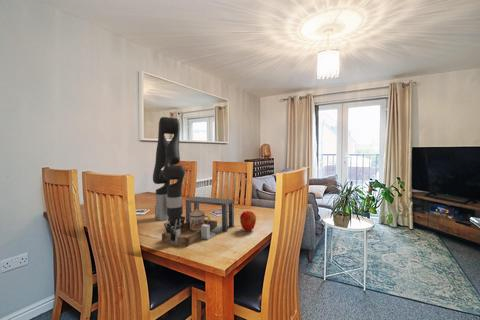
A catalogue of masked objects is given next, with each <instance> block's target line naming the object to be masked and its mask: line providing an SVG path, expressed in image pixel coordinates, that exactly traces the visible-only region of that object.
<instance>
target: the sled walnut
mask: <svg viewBox="0 0 480 320" xmlns="http://www.w3.org/2000/svg"><path fill="white" fill-rule="evenodd" d="M208 220H209V219H205V218H204V222H205V223H207V222H208ZM207 225H210V232H211V230H212V229H214V228H215V227H217V226H218V221H217V220H212V219H210V221H209V223H208V224H207ZM187 230H190V221H188V222H186V221H185V222H184V225H183V228H181V230H180V229H175V241H171V238H170V233H167V231H165V232H163V233H161V242H162V243H168V244H170V245H173V246H184V247H189V246H191V245H193V244H194V243H195V242H197V241H199V240H201V239H200V237H201V229H200V230H199V231H194V232H193V233H192V234H190V235H188V236H186V235H184V236H183V235H181V233H183V232H186V231H187ZM172 231H173V229H172Z"/></svg>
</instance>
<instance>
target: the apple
mask: <svg viewBox="0 0 480 320" xmlns="http://www.w3.org/2000/svg"><path fill="white" fill-rule="evenodd" d="M239 220H240V225H241V228H242V230H244V232H251V231H252V230H253V229H255V225H256V223H257V216H256V213H254V212H253V211H250V210H246V211H243V212H242V213H241V214H240V217H239Z"/></svg>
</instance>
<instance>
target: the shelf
mask: <svg viewBox="0 0 480 320" xmlns="http://www.w3.org/2000/svg"><path fill="white" fill-rule="evenodd" d="M192 203H193V211H195V209H199V210H200V204H203V205H214V206H220V207H221V225H222V230H221V232H224V233H227V232H228V230H229V228H234V227H235V218H234V217H235V204H234V203H235V201H234V199H228V198H216V197H215V198H214V197H207V196H206V197H205V196H193V197H190V198H187V199H185V223H186V222H188V221H190V216H189V214H190V213H191V212H192Z"/></svg>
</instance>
